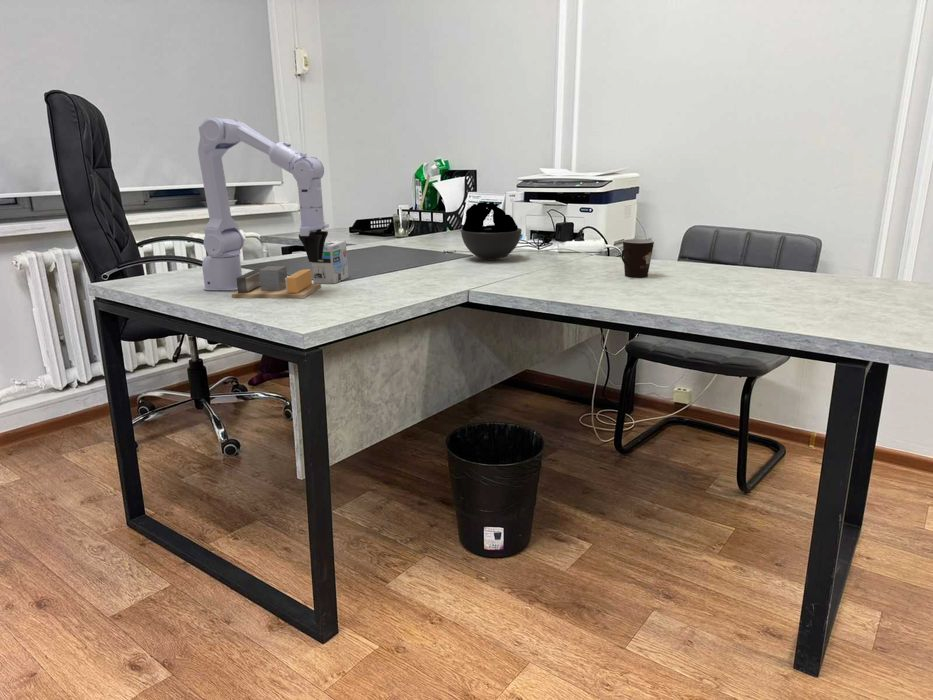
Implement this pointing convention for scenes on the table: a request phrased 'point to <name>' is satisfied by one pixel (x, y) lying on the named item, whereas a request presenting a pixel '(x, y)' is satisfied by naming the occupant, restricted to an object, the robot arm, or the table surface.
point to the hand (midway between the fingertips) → (315, 260)
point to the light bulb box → (331, 263)
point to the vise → (252, 289)
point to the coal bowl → (489, 232)
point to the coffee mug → (637, 257)
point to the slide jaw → (298, 281)
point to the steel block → (273, 278)
